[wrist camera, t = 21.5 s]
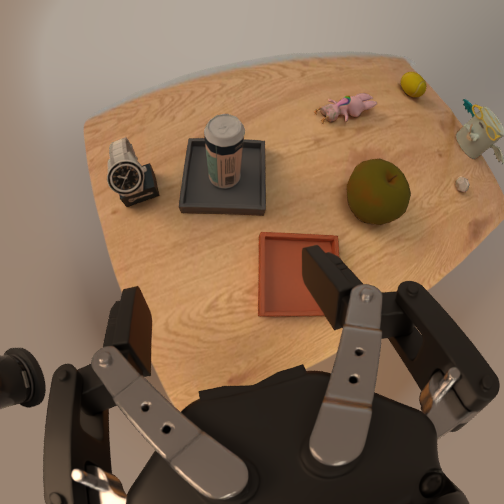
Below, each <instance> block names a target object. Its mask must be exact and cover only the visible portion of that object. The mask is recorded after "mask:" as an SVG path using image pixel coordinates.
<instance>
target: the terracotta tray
mask: <svg viewBox="0 0 504 504" xmlns="http://www.w3.org/2000/svg"><path fill="white" fill-rule="evenodd" d="M313 245H319V246H320V248H321V249H322V250H323V251H324V252H325V253H327V252H330V253H332V254H334V255H336V256H338V257H339V244H338V236H333V235H315V234H294V233H272V232H261V233H260V236H259V295H258V316H322V315H324V313H323V312H322V310H321V309H320V307H319V306H318V304H317V303H316V301H315V300H314V298H313V296H312V295H311V293H310V292H309V290H308V289H307V287H306V286H305V284H304V281H303V277H302V248H305V247H309V246H313Z"/></svg>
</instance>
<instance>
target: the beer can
mask: <svg viewBox="0 0 504 504" xmlns="http://www.w3.org/2000/svg"><path fill="white" fill-rule="evenodd" d="M244 134H245V128H244V126H243V124H242V123H241V122H240V121H239V119H238V118H237V117H235V116H232V115H229V114H222V115H216V116H215V117H214V118H212V119H211V120H210V121H209V122H208V124H207V125H206V127H205V130H204V135H205V145H206V155H207V164H208V173H209V179H210V181H211V183H212V184H213V185H215V186H216V187H219V188H230V187H233V186H234V185H236V184H237V183H238V181H239V180H240V176H241V174H240V171H241V160H242V150H243V139H244Z"/></svg>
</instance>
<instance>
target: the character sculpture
mask: <svg viewBox="0 0 504 504" xmlns="http://www.w3.org/2000/svg"><path fill="white" fill-rule="evenodd" d="M463 101H464V104H463V105H464V106H465V109H467V110H468V112H470V113H471V114H472V119H471V120H470V121H469V122H468V123H467V124H465V125H464V126H463V127H462V128H461V129H460V130H459V131H458V132H457V134H456V138H457V141H458V143H459V145H460V147H461V148H462V150H463V151H464V152H465V153H466V154H467V155H468V156H469V157H470V158H472V159H476V158H477V157H478V156H480V155H481V154H482V153H483V152H485V151H486V150H487V149H488V148H489V147H490V148H493V149H494V152H495V153H494V155H496V159H498V161H499V162H500V161H502V164H503V163H504V158H503V155H502V152H501V149H500V148H499V147H497V146H495V145H493V144H494V143H496V142H497V141H498V140H499V139H500V138H502V137H503V136H504V128H503V126H502V124H501V122H500V121H499V119H498V118H497V117H496V115H495V114H494V113H493V112H492V111H491V110H490V109H489V108H487V107H485V106H484V107H480V106H478V105H473V106H472V104H471V103H470V102H468V101H467V100H465V99H463ZM474 107H477V108H478V109H479V110H480V111H479V112H478V113H477V114H475V112H474Z"/></svg>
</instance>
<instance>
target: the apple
mask: <svg viewBox="0 0 504 504" xmlns="http://www.w3.org/2000/svg"><path fill="white" fill-rule="evenodd" d="M410 196H411V192H410V188H409V184H408V182H407V180H406V178H405V176H404V174H403V173H402V172H401V170H400V169H399V168H398V167H396V166H395V165H394V164H392V163H390V162H388V161H385V160H382V159H372V160H367V161H363V162H361V163H360V164H359V165H357V166H356V167H355V169H354V171H353V173H352V175H351V176H350V179H349V181H348V184H347V198H348V203H349V206H350V208H351V211H352V212H353V213H354V214H355V216H356V217H357V218H358V219H360V220H361V221H363V222H364V223H371V224H377V225H382V224H386V223H389V222H391V221H394V220H396V219H398V218H400V217H401V216H402V215H403V214H404V213H405V212H406V209H407V207H408V204H409V200H410Z"/></svg>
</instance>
